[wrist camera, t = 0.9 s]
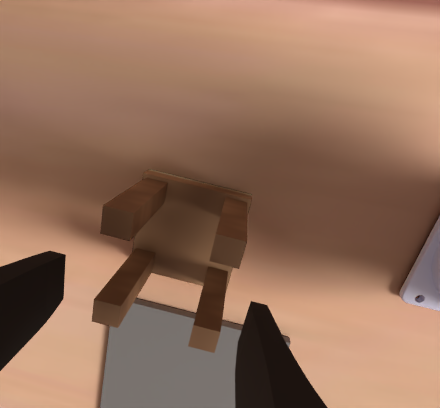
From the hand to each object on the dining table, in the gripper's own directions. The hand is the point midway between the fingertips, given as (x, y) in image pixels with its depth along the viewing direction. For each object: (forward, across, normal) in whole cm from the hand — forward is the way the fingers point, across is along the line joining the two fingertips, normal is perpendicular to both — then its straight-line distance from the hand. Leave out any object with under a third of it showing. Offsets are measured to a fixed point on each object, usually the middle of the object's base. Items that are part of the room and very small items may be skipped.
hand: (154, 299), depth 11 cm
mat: (+7, -2, +12) cm, 14 cm away
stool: (+7, 0, 0) cm, 7 cm away
